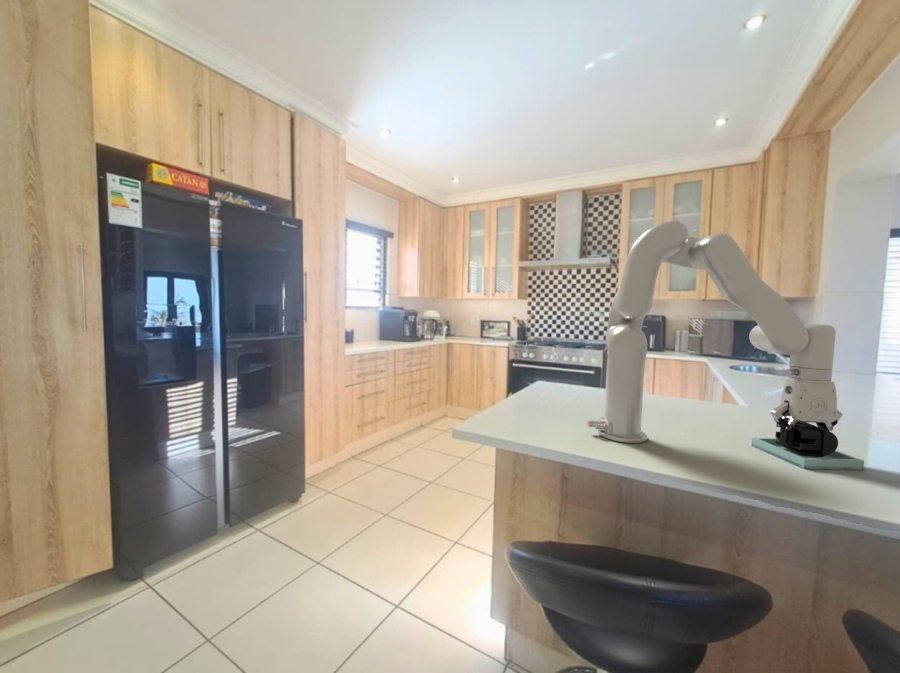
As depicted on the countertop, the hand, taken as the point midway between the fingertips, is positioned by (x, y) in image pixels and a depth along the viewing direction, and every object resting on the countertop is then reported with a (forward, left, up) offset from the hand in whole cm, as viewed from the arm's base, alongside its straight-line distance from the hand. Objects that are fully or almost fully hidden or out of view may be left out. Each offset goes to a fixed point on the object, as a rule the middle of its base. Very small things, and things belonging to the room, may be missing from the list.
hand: (803, 444), depth 91 cm
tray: (0, 0, -3) cm, 3 cm away
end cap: (0, 0, -2) cm, 2 cm away
